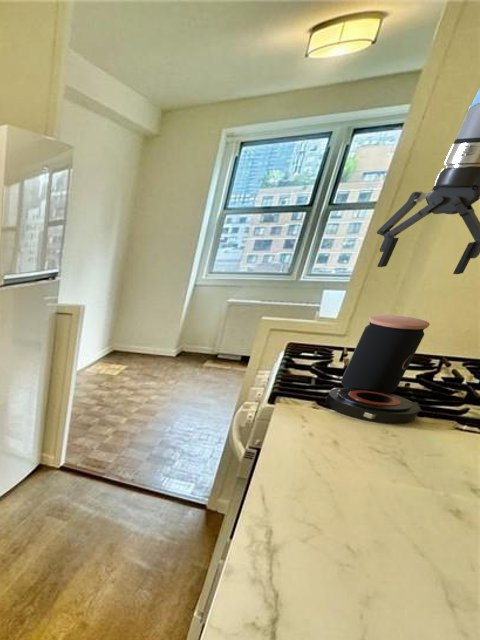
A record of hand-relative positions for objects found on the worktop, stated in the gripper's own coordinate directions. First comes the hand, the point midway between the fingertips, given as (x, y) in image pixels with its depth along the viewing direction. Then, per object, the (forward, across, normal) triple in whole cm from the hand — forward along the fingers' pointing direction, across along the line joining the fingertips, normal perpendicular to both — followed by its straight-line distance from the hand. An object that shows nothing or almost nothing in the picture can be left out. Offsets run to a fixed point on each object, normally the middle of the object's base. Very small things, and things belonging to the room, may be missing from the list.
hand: (417, 270), depth 114 cm
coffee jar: (+29, +2, -2) cm, 29 cm away
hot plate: (+29, +8, -17) cm, 35 cm away
